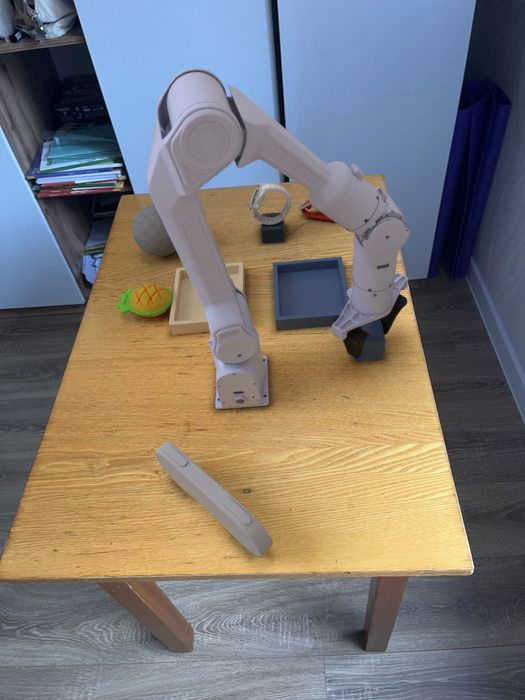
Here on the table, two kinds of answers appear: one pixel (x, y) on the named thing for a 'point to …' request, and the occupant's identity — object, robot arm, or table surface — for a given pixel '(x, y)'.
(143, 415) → the table surface
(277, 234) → the watch
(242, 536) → the game controller
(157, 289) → the toy pineapple
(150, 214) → the decorative ball
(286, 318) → the blue tray
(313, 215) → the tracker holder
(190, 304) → the beige tray
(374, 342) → the blue block
